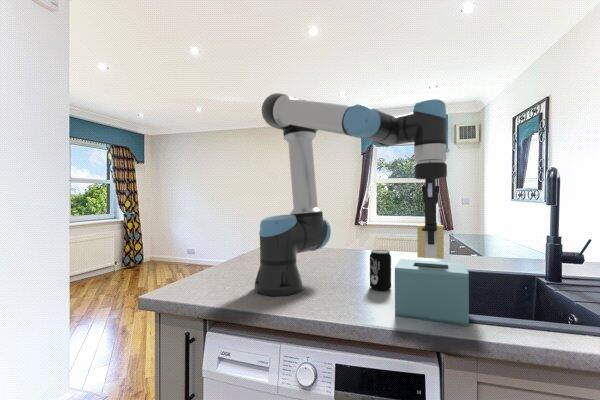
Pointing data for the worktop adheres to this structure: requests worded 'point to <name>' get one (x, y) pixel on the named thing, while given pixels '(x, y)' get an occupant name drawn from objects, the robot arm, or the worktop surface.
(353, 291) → the worktop surface
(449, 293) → the coin box
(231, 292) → the worktop surface
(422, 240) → the beige rectangular block
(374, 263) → the beverage can
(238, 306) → the worktop surface
